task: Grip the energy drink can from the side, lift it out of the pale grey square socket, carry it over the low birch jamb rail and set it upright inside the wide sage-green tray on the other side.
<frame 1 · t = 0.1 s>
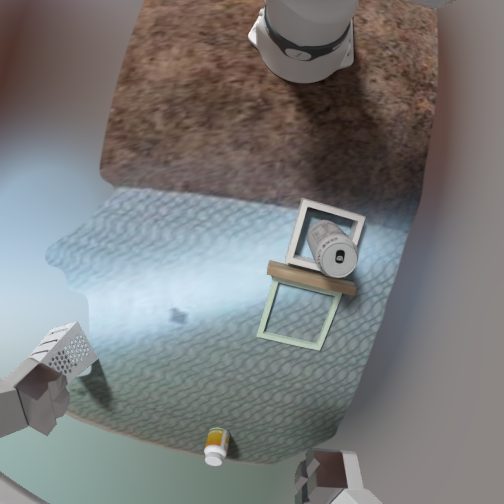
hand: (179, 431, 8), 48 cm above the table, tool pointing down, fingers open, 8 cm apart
jamb rail: (311, 275, 57), on the table
energy drink can: (323, 235, 55), resting in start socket
grater: (74, 343, 66), on the table
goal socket: (298, 313, 59), on the table
supplement bottle: (219, 432, 70), on the table
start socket: (323, 235, 55), on the table
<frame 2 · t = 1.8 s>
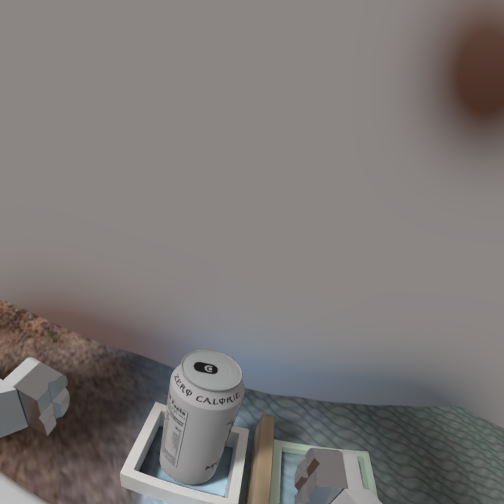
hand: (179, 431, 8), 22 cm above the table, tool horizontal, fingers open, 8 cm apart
jamb rail: (255, 482, 27), on the table
energy drink can: (186, 467, 27), resting in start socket
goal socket: (323, 491, 27), on the table
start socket: (187, 466, 27), on the table
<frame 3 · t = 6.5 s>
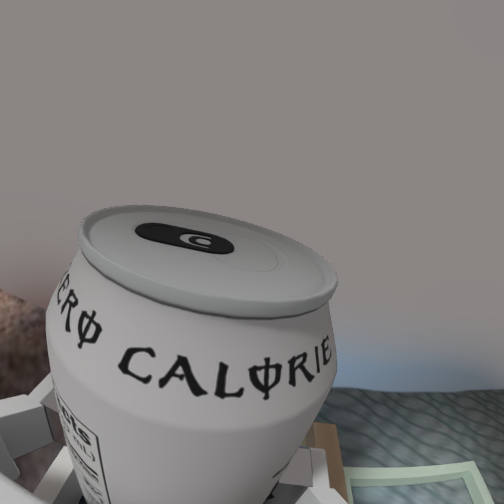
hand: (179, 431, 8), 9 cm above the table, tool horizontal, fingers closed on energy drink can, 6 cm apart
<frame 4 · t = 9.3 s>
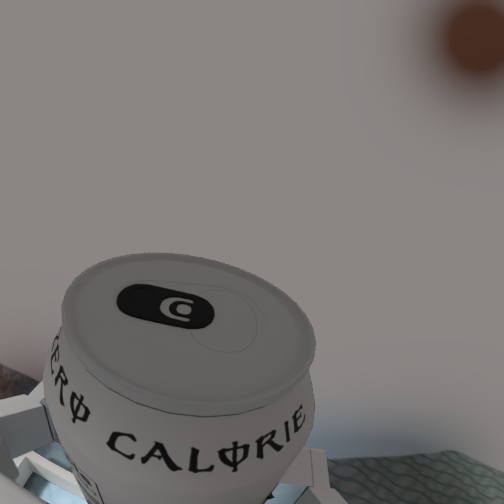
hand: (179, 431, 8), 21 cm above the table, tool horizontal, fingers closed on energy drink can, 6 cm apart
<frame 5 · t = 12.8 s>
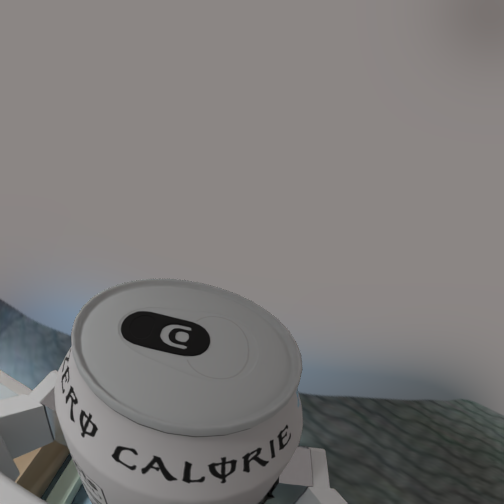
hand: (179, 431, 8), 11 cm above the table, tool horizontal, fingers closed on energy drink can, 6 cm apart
jamb rail: (32, 488, 10), on the table
when the fingers open (11 cm above the table, at t = 13.9 s): energy drink can stays where it is, resting in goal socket.
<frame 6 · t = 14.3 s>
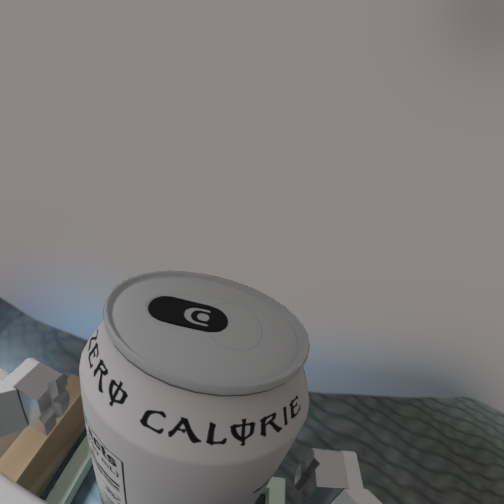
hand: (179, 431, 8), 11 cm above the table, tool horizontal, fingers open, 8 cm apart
jamb rail: (33, 487, 10), on the table
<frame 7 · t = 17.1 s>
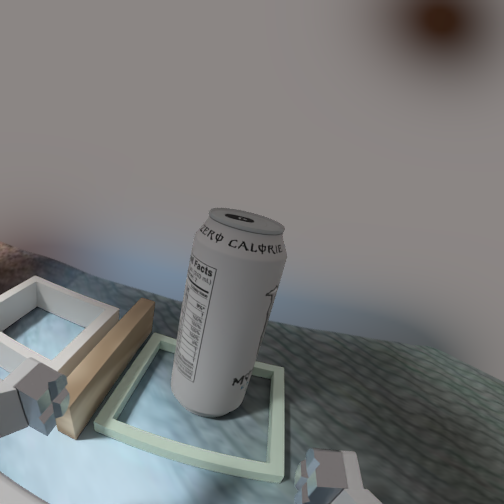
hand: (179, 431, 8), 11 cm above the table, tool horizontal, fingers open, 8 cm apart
jamb rail: (112, 372, 23), on the table
energy drink can: (205, 397, 24), resting in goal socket
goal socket: (202, 403, 23), on the table
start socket: (43, 341, 23), on the table
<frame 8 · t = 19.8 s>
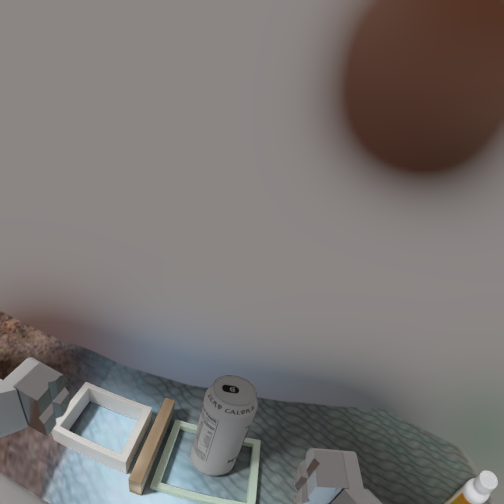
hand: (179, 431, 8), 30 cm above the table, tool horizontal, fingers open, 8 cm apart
jamb rail: (153, 450, 35), on the table
energy drink can: (211, 462, 36), resting in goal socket
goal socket: (209, 466, 35), on the table
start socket: (103, 431, 35), on the table
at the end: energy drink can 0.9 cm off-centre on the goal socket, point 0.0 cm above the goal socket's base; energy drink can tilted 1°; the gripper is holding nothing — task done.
